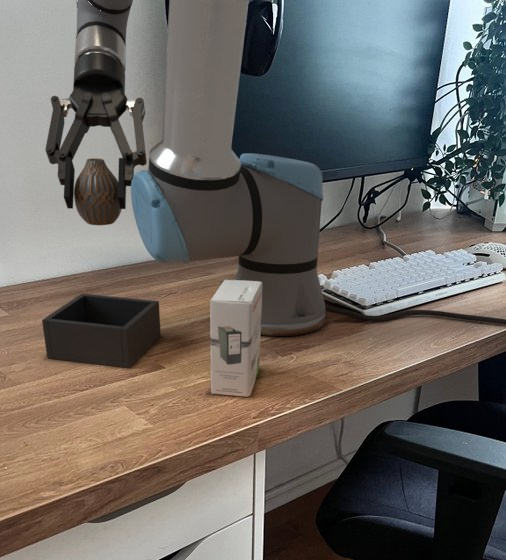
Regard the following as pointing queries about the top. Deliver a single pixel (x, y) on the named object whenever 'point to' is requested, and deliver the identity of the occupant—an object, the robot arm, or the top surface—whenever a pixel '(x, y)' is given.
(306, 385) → the top surface
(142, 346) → the box
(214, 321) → the ink box
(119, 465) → the top surface
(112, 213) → the vase
